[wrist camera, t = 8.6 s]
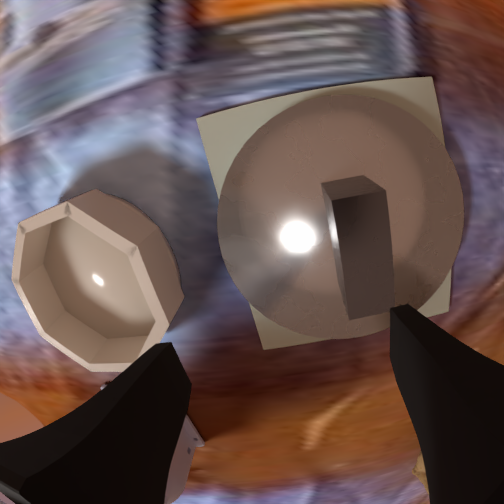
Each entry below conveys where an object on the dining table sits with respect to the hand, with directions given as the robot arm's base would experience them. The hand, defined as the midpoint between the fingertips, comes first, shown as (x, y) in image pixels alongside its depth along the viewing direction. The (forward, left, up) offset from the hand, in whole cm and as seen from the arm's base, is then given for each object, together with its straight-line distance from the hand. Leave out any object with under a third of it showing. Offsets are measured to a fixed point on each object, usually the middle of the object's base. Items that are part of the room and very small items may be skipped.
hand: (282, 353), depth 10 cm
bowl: (0, +13, -10) cm, 17 cm away
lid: (0, -4, -10) cm, 11 cm away
